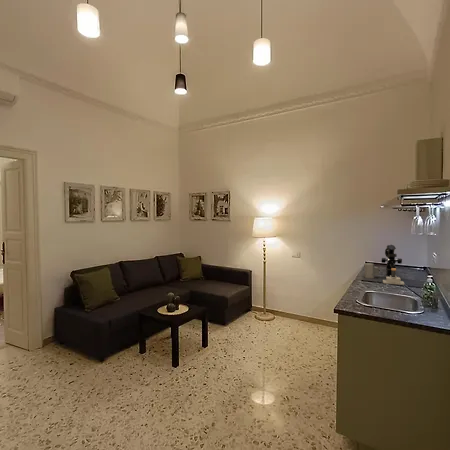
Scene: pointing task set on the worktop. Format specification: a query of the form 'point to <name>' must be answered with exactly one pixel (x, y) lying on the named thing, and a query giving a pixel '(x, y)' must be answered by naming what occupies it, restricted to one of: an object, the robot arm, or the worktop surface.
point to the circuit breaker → (370, 270)
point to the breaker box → (393, 280)
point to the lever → (393, 272)
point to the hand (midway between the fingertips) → (392, 267)
